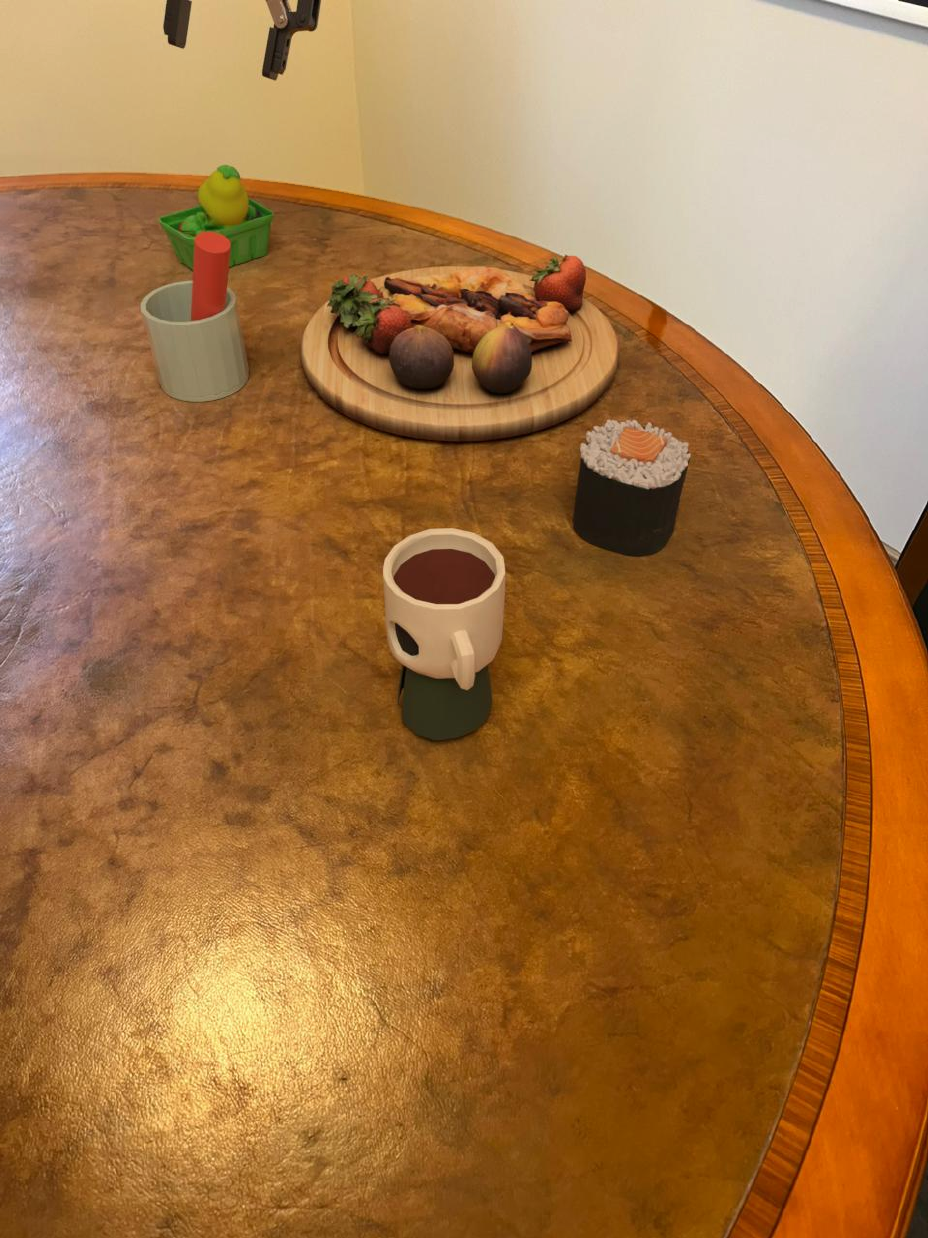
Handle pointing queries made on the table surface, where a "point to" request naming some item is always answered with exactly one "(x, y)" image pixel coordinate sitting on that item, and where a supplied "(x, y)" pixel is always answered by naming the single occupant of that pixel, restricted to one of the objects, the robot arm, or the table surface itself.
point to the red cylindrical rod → (209, 275)
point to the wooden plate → (461, 350)
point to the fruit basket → (221, 219)
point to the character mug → (444, 627)
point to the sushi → (629, 487)
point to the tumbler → (194, 345)
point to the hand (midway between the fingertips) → (222, 62)
